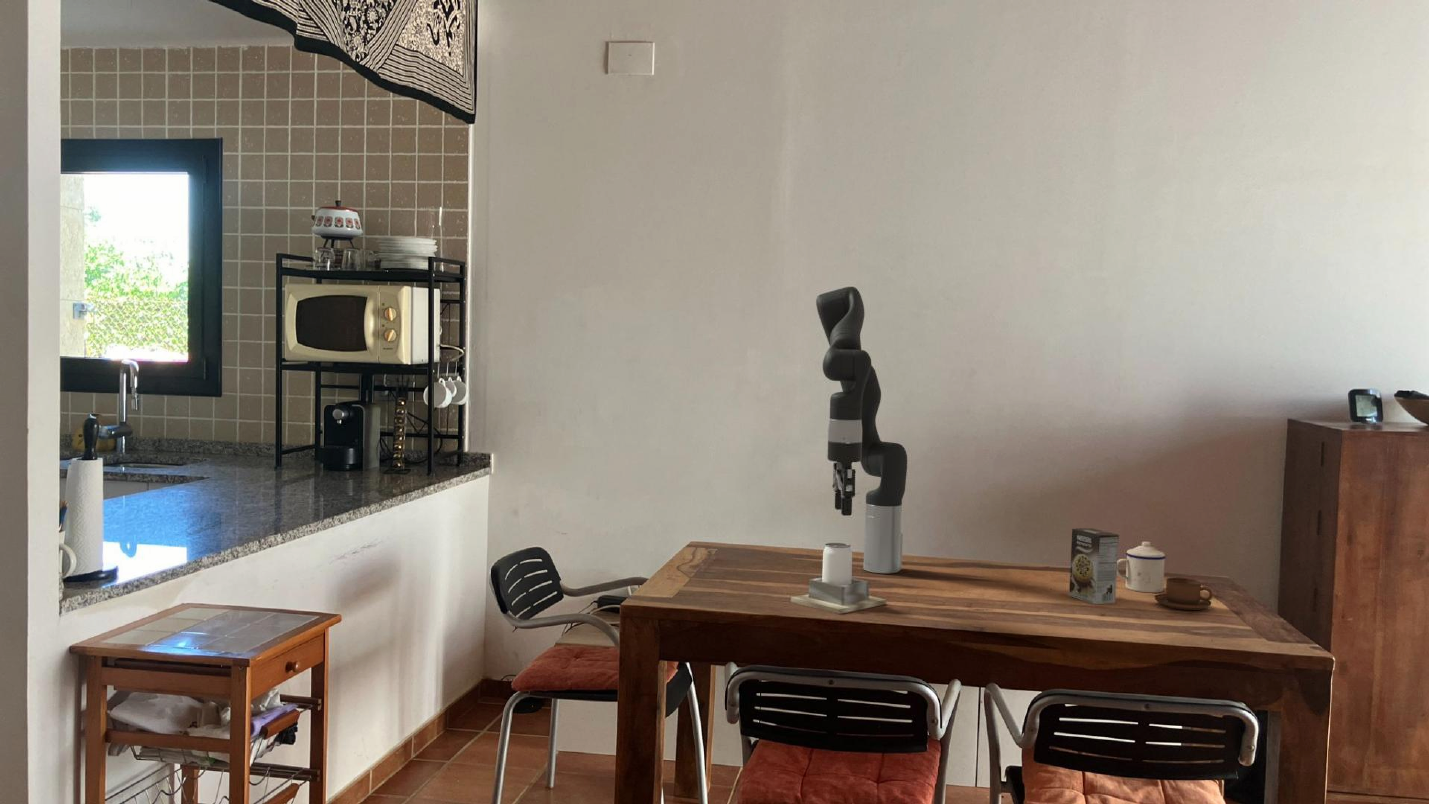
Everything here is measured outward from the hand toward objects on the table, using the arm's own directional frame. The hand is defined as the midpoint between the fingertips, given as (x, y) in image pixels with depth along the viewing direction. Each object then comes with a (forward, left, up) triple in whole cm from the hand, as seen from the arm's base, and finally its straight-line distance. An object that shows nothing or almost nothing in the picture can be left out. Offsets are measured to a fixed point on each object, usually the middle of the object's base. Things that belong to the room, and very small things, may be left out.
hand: (842, 512), depth 248 cm
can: (0, -1, -20) cm, 20 cm away
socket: (0, 0, -20) cm, 20 cm away
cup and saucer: (-62, +49, -21) cm, 82 cm away
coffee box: (-52, +33, -21) cm, 65 cm away
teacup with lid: (-73, +34, -21) cm, 83 cm away
